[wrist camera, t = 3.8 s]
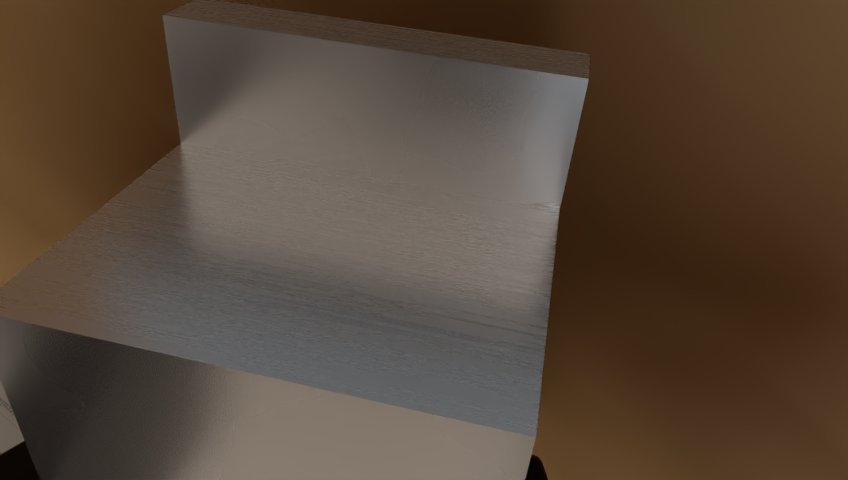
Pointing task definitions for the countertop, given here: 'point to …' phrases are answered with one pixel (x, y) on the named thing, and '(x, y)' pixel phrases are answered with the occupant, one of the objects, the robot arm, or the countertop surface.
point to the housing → (309, 264)
